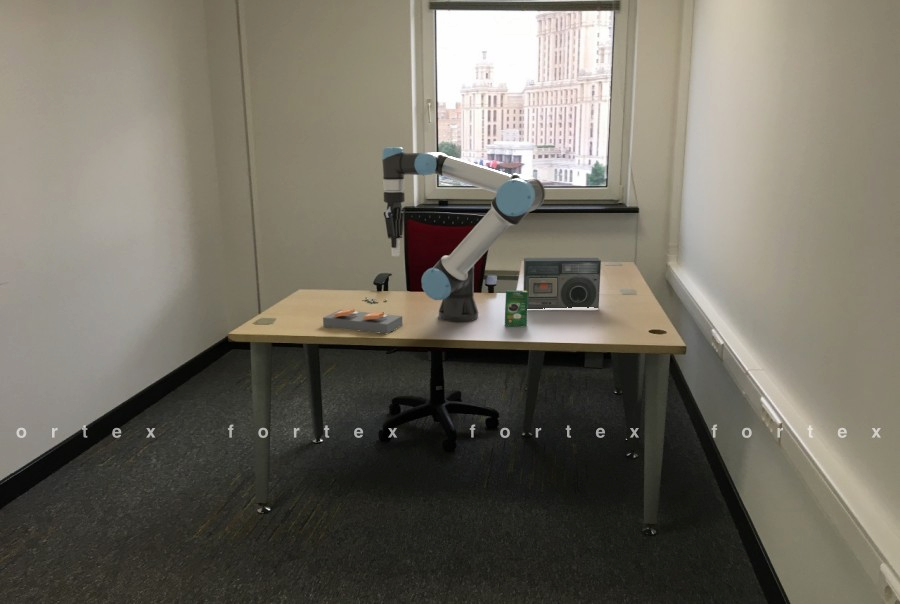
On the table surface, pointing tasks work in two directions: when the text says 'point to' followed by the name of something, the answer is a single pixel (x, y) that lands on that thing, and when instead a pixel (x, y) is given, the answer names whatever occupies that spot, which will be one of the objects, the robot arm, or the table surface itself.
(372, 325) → the grey rectangular block
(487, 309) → the table surface
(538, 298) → the cassette player
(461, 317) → the robot arm
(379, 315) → the rocker
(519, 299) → the coffee box
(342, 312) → the rocker
